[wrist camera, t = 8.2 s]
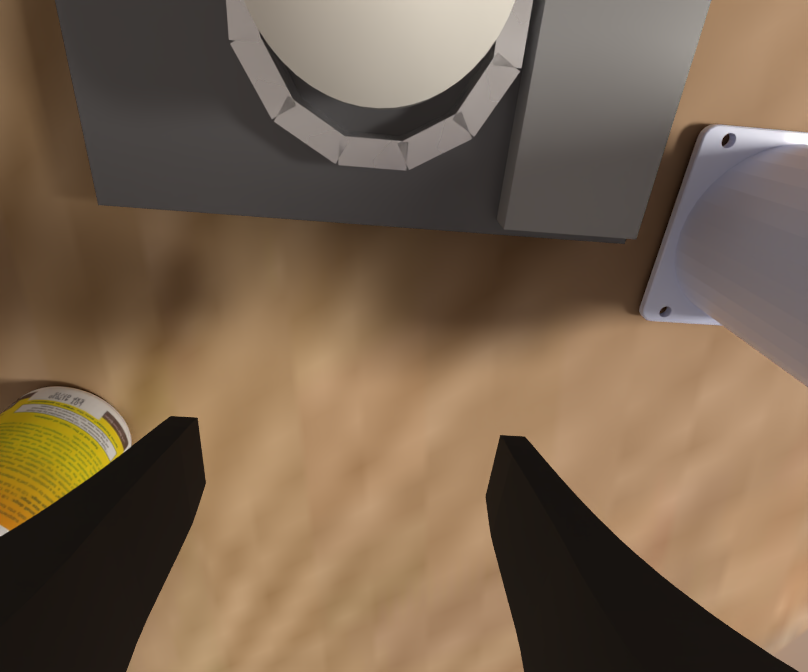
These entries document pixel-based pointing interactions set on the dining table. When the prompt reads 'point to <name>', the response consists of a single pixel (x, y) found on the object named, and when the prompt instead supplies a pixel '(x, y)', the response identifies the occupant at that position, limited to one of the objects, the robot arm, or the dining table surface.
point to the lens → (380, 44)
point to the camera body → (386, 124)
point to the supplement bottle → (53, 448)
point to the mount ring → (379, 148)
